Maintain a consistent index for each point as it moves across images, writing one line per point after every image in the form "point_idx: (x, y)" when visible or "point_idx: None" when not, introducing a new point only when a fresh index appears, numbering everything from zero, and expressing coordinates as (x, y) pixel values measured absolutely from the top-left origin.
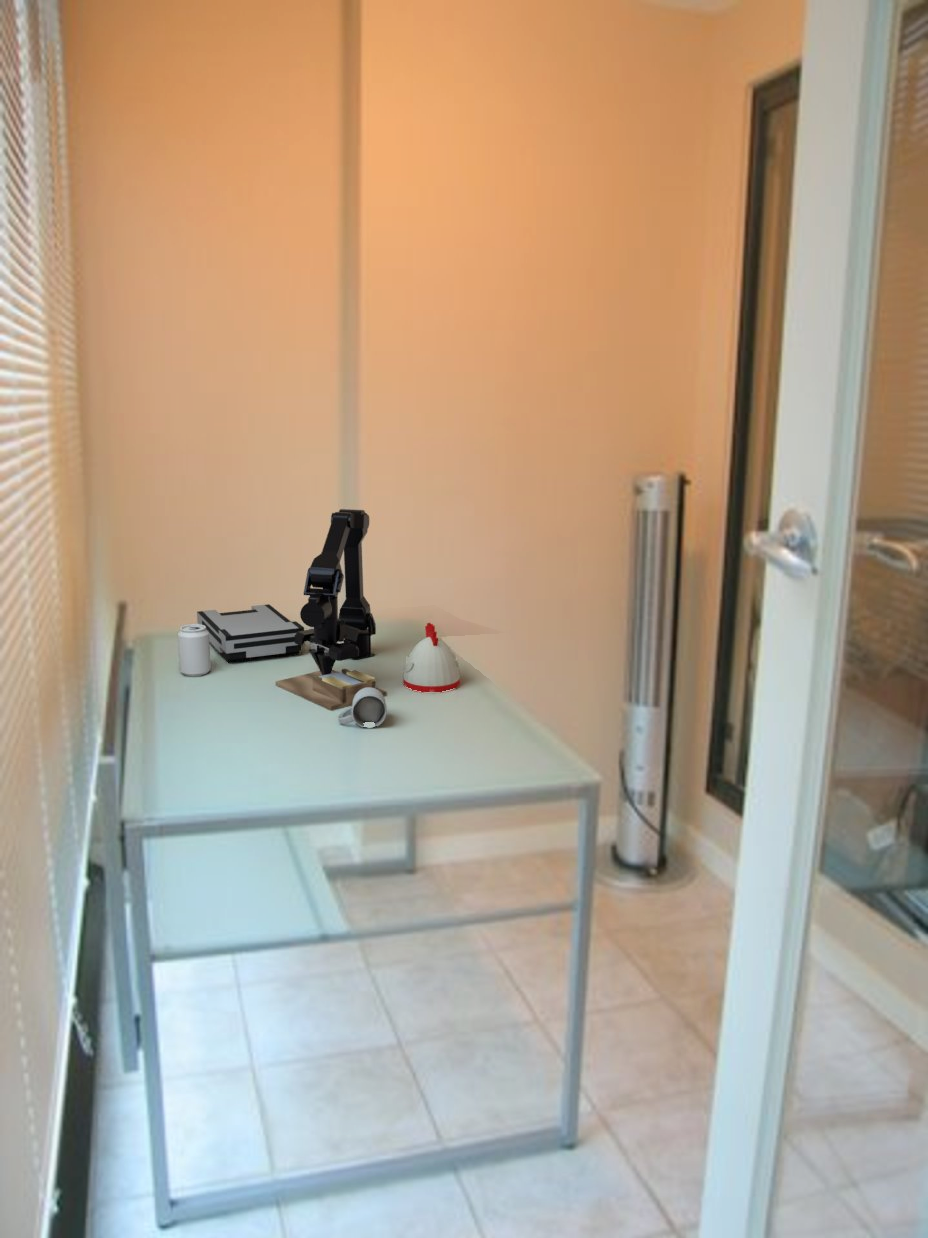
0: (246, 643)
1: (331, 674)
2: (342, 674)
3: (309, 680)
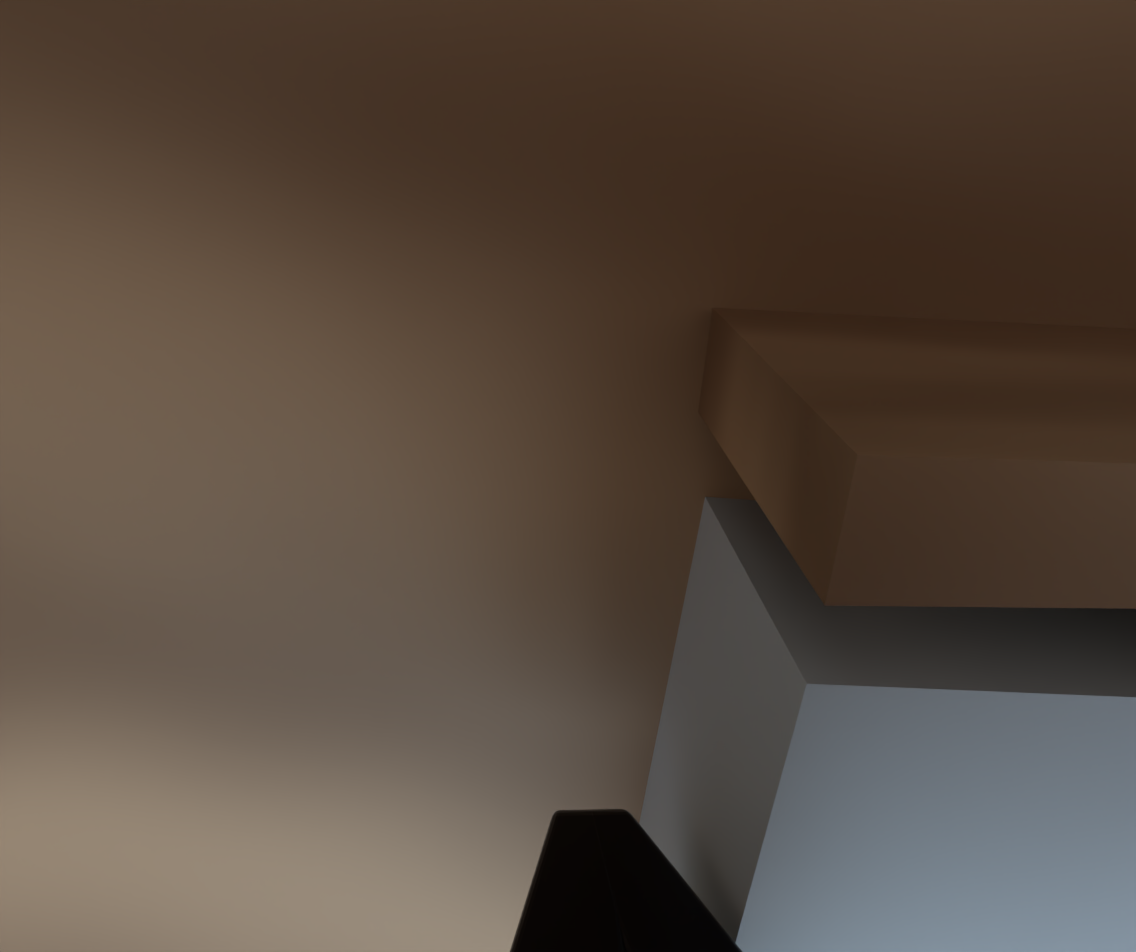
0: None
1: (810, 949)
2: (1076, 754)
3: (63, 830)
